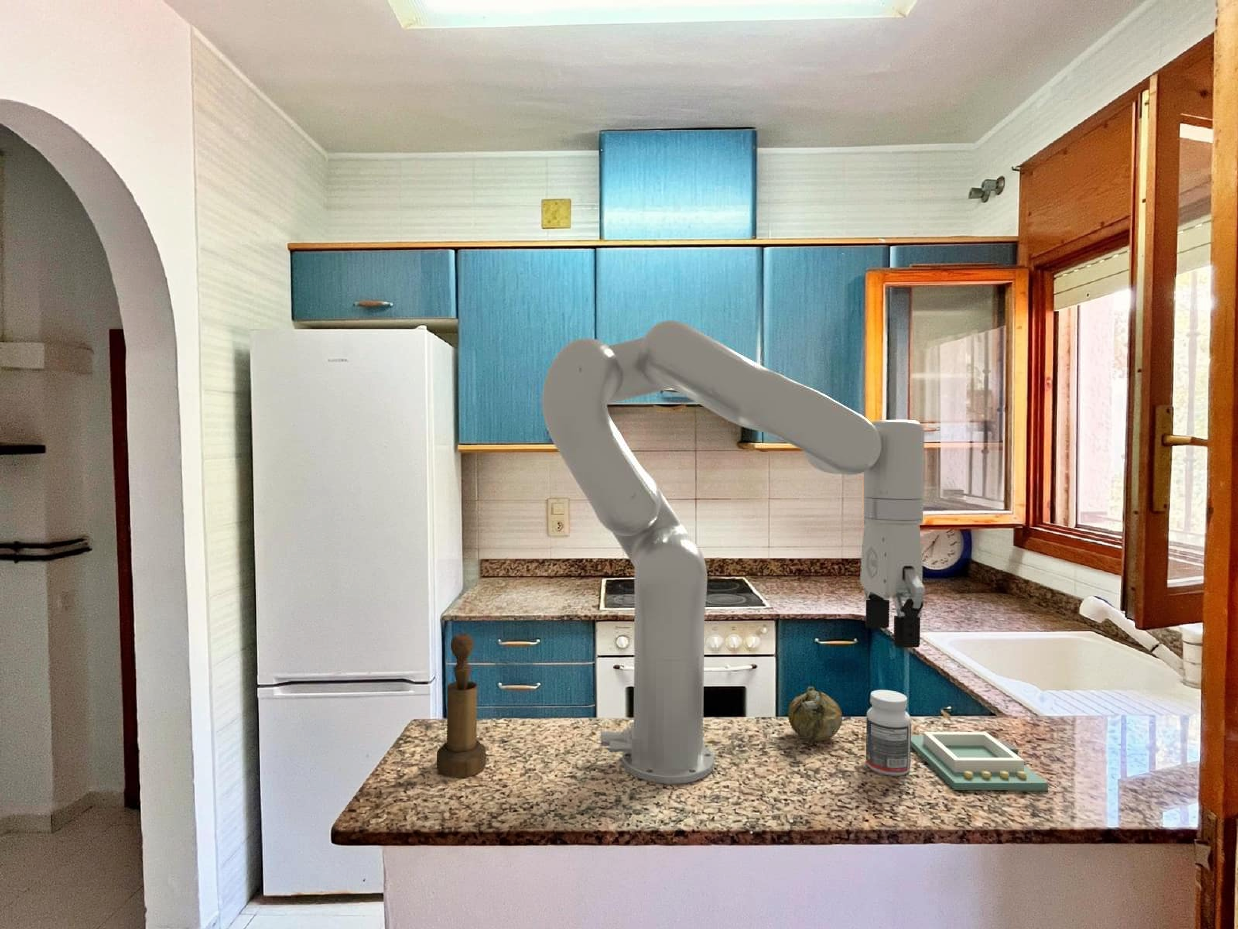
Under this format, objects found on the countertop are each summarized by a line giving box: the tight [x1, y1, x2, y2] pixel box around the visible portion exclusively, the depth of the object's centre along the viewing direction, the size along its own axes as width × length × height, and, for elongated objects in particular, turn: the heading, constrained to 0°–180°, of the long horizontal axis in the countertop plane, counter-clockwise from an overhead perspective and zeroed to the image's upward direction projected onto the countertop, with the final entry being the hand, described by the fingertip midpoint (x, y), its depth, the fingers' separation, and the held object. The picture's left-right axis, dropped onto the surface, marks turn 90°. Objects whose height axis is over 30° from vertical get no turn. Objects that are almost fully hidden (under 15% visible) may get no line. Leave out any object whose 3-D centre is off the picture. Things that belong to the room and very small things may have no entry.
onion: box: [787, 686, 843, 742], centre depth 105 cm, size 8×8×8 cm
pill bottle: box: [865, 689, 912, 777], centre depth 95 cm, size 6×6×10 cm
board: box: [911, 731, 1049, 792], centre depth 97 cm, size 12×15×3 cm
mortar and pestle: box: [436, 633, 487, 778], centre depth 94 cm, size 7×6×18 cm
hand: (891, 636), depth 95 cm, fingers open, 9 cm apart
